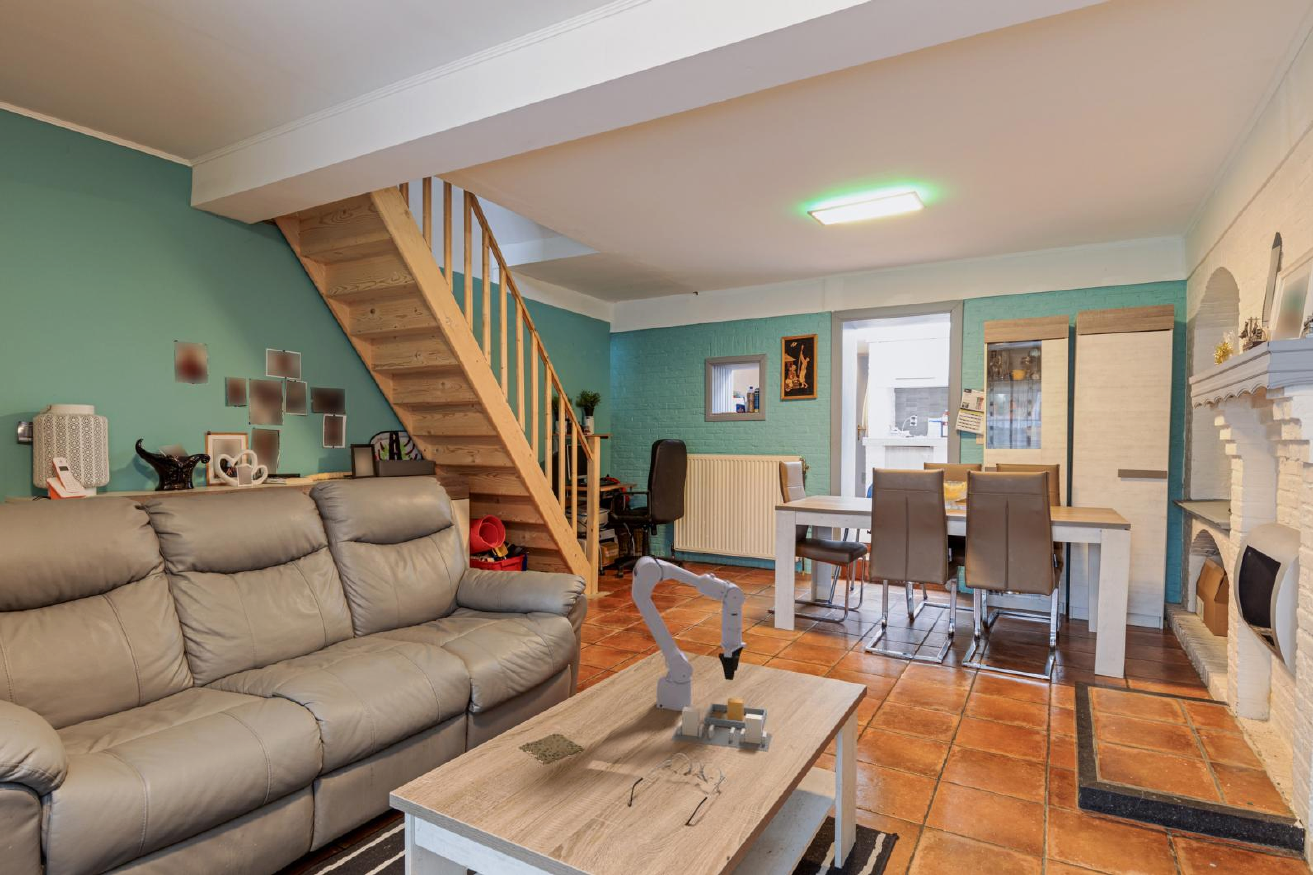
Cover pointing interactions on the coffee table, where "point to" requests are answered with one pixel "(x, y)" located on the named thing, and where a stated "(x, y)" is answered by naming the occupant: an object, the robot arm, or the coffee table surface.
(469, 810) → the coffee table surface
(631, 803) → the eyeglasses
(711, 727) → the panel
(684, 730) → the block
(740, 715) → the orange fuse
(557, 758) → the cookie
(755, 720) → the block
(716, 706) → the tray
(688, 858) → the coffee table surface
